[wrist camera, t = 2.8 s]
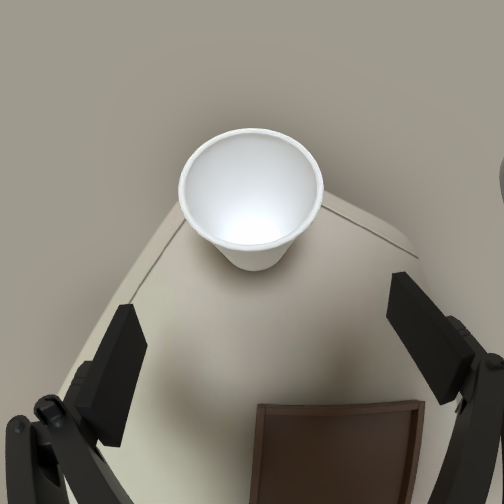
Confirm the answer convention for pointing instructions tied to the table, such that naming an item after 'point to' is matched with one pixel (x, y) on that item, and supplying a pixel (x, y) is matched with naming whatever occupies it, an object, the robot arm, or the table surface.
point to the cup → (251, 194)
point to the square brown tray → (336, 453)
